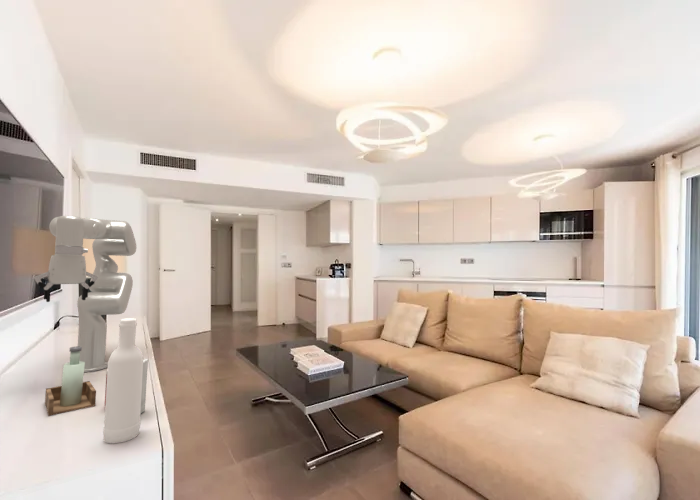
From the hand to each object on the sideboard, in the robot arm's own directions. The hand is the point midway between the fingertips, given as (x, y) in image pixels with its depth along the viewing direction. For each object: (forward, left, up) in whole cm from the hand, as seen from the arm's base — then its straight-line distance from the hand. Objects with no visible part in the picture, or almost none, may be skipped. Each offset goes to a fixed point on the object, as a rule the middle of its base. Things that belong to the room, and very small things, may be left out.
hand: (66, 300), depth 120 cm
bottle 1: (+17, +1, -30) cm, 35 cm away
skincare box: (+38, +12, -31) cm, 50 cm away
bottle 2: (+50, +8, -31) cm, 59 cm away
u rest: (+17, +1, -31) cm, 35 cm away
